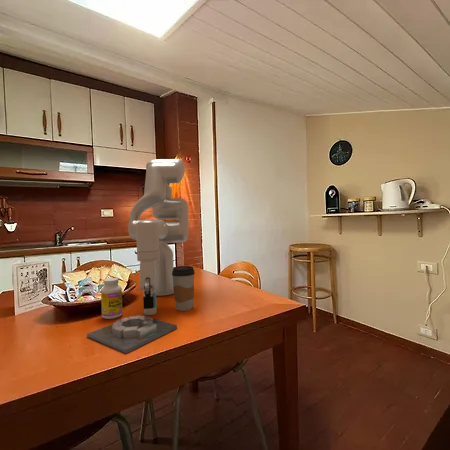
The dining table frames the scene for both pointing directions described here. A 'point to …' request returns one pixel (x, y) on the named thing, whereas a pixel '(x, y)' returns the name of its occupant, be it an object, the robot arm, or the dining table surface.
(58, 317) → the dining table surface
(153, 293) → the knob
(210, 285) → the dining table surface
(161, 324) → the hub plate
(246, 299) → the dining table surface
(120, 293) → the supplement bottle
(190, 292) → the coffee cup
